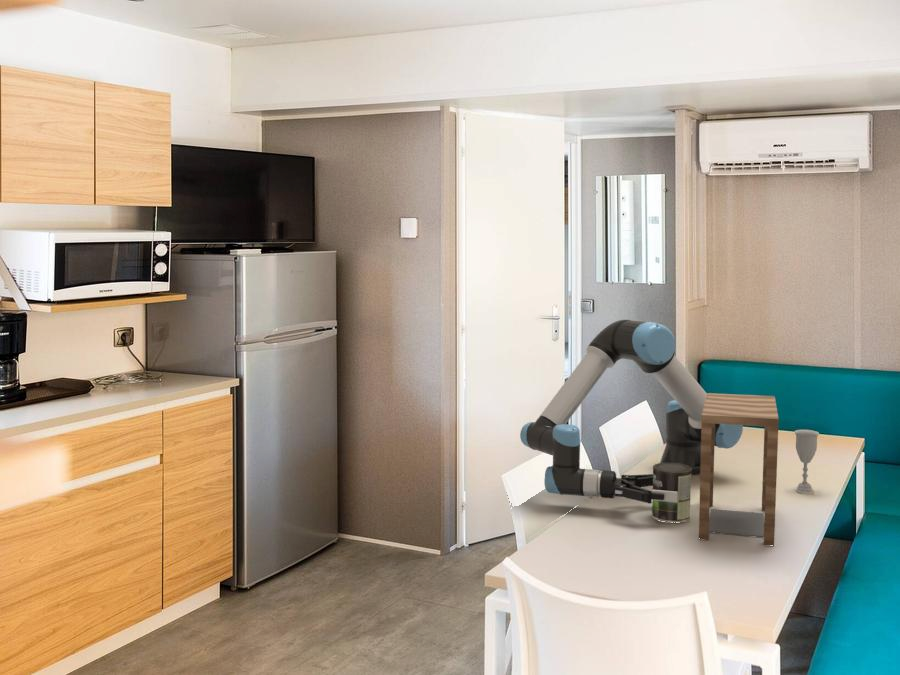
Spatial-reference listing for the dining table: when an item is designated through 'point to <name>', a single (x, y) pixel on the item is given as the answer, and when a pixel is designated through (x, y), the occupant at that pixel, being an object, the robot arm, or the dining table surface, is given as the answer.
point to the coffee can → (672, 480)
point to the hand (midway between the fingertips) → (679, 490)
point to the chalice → (805, 455)
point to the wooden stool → (763, 414)
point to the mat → (736, 522)
